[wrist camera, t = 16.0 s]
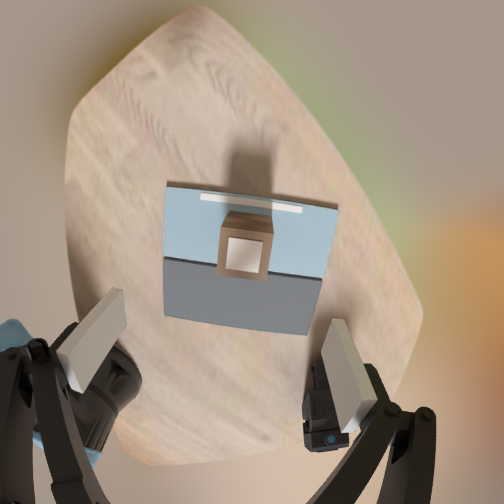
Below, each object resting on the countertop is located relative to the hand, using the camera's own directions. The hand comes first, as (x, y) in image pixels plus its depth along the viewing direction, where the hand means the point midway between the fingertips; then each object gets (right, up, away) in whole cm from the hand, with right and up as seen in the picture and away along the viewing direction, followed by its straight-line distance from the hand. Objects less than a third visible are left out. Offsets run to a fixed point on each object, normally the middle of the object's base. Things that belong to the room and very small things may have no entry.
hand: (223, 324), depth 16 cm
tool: (+14, -20, +27) cm, 37 cm away
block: (+1, +7, +17) cm, 18 cm away
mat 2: (0, -2, +21) cm, 21 cm away
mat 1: (+1, +7, +17) cm, 19 cm away
